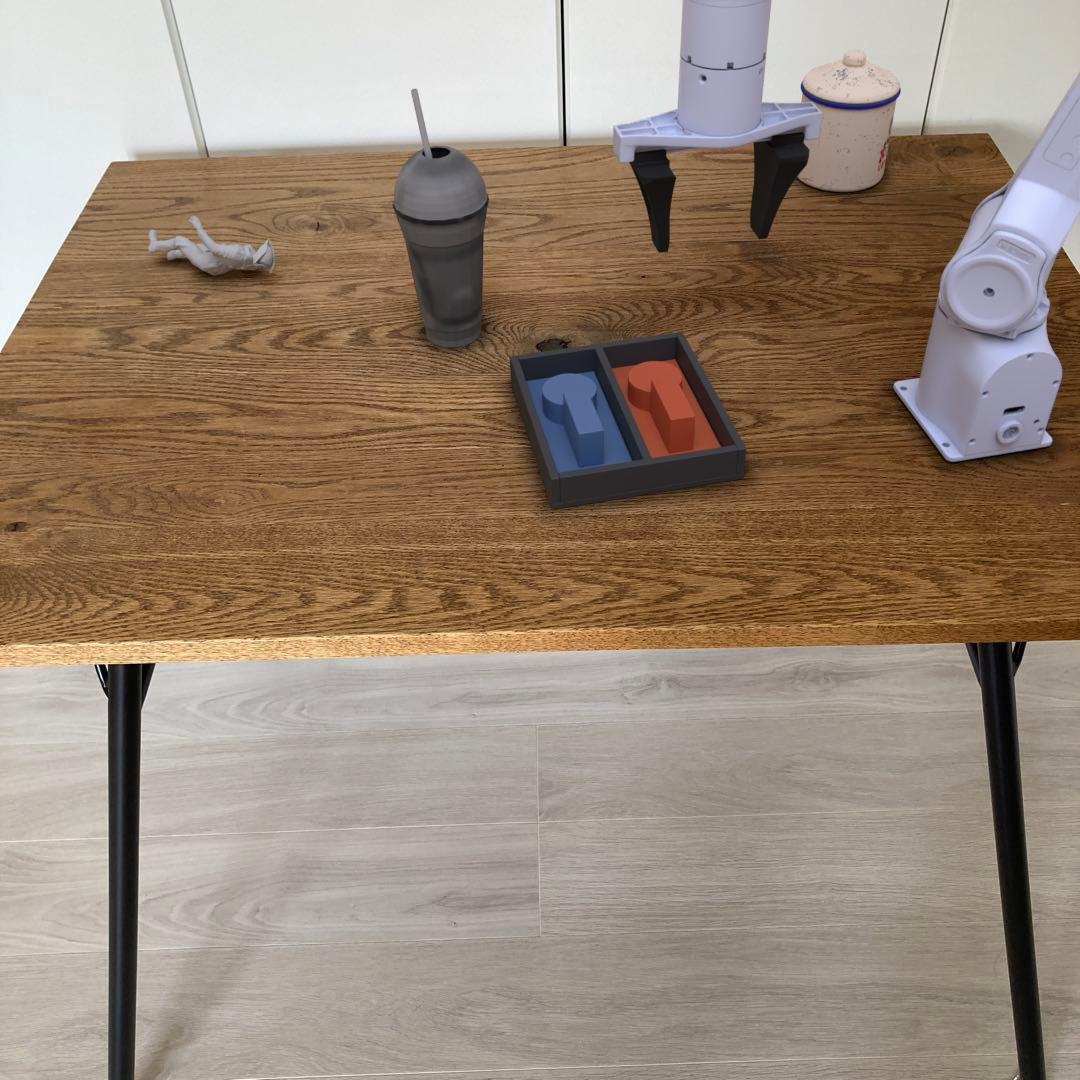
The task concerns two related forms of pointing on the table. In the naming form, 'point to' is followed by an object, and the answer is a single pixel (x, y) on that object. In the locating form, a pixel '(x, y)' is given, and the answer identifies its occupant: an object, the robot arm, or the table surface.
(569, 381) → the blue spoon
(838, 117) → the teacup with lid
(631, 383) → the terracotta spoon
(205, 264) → the soldier figure
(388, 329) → the table surface
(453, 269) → the beverage cup
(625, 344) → the divided sorting tray
